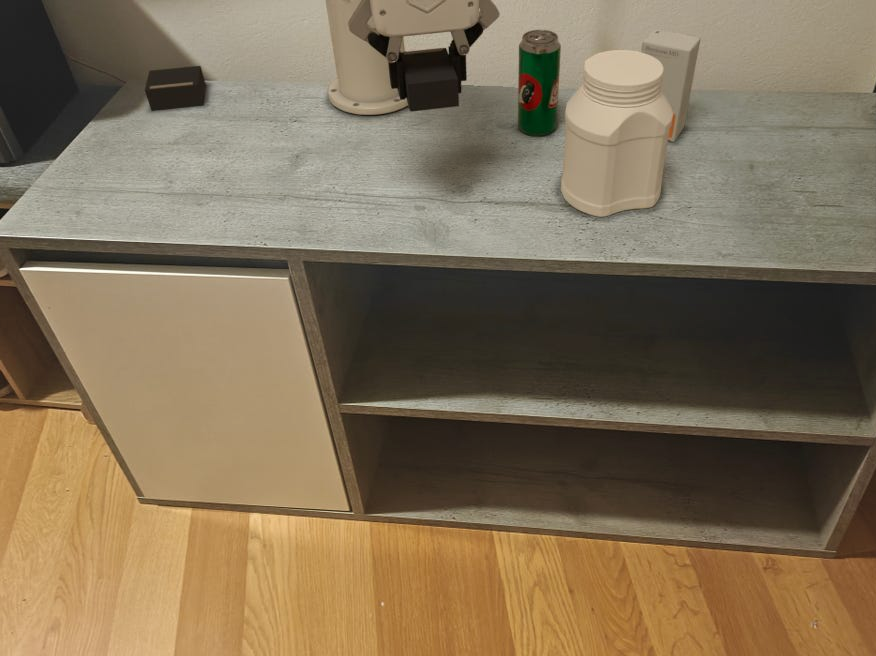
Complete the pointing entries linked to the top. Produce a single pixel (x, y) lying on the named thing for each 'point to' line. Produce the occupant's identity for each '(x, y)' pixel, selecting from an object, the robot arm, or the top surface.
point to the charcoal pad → (175, 88)
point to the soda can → (538, 82)
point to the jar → (616, 134)
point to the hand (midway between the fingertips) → (428, 88)
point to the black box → (430, 80)
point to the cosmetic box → (674, 71)
